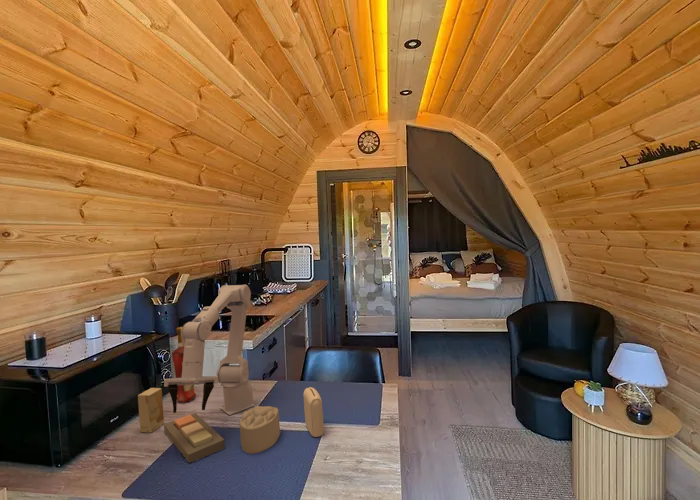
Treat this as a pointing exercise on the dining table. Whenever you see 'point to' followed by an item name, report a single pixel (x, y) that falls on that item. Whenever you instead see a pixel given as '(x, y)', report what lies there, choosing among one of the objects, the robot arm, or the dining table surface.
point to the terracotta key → (184, 421)
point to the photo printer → (313, 412)
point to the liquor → (184, 391)
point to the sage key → (200, 438)
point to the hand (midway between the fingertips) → (189, 410)
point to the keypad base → (186, 447)
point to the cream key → (191, 429)
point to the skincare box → (150, 409)
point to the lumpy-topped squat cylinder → (259, 428)
